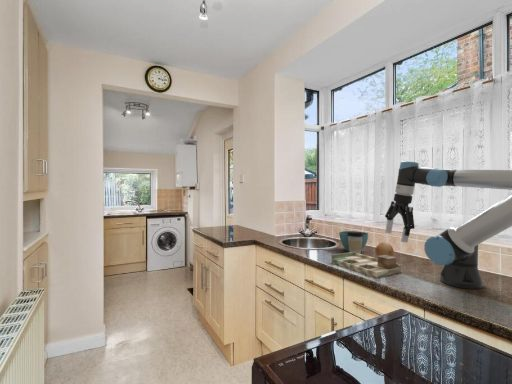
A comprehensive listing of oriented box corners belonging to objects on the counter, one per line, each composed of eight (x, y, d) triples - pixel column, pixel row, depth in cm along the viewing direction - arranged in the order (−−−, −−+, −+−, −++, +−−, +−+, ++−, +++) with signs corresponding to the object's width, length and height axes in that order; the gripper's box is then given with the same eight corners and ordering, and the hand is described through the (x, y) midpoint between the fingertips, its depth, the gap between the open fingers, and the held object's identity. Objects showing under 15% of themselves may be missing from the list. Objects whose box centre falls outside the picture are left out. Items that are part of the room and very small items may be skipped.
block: (396, 267, 135) (396, 257, 135) (388, 269, 132) (388, 258, 132) (385, 264, 141) (385, 254, 140) (377, 266, 138) (377, 256, 138)
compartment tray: (400, 272, 135) (400, 263, 135) (376, 277, 127) (376, 268, 127) (354, 259, 161) (354, 251, 161) (331, 262, 152) (331, 254, 152)
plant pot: (333, 250, 183) (333, 232, 183) (349, 247, 194) (349, 230, 194) (358, 255, 169) (358, 236, 169) (373, 251, 180) (373, 233, 180)
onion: (385, 262, 154) (385, 244, 154) (371, 258, 163) (371, 241, 163) (397, 261, 157) (398, 243, 157) (383, 257, 167) (384, 240, 167)
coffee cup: (364, 259, 161) (364, 233, 161) (347, 258, 163) (348, 233, 163) (361, 255, 171) (361, 231, 170) (345, 254, 172) (346, 230, 172)
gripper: (382, 189, 141) (375, 228, 144) (412, 198, 116) (403, 245, 120) (396, 190, 142) (389, 229, 145) (429, 199, 117) (419, 246, 120)
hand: (395, 237), depth 132 cm, fingers open, 13 cm apart
